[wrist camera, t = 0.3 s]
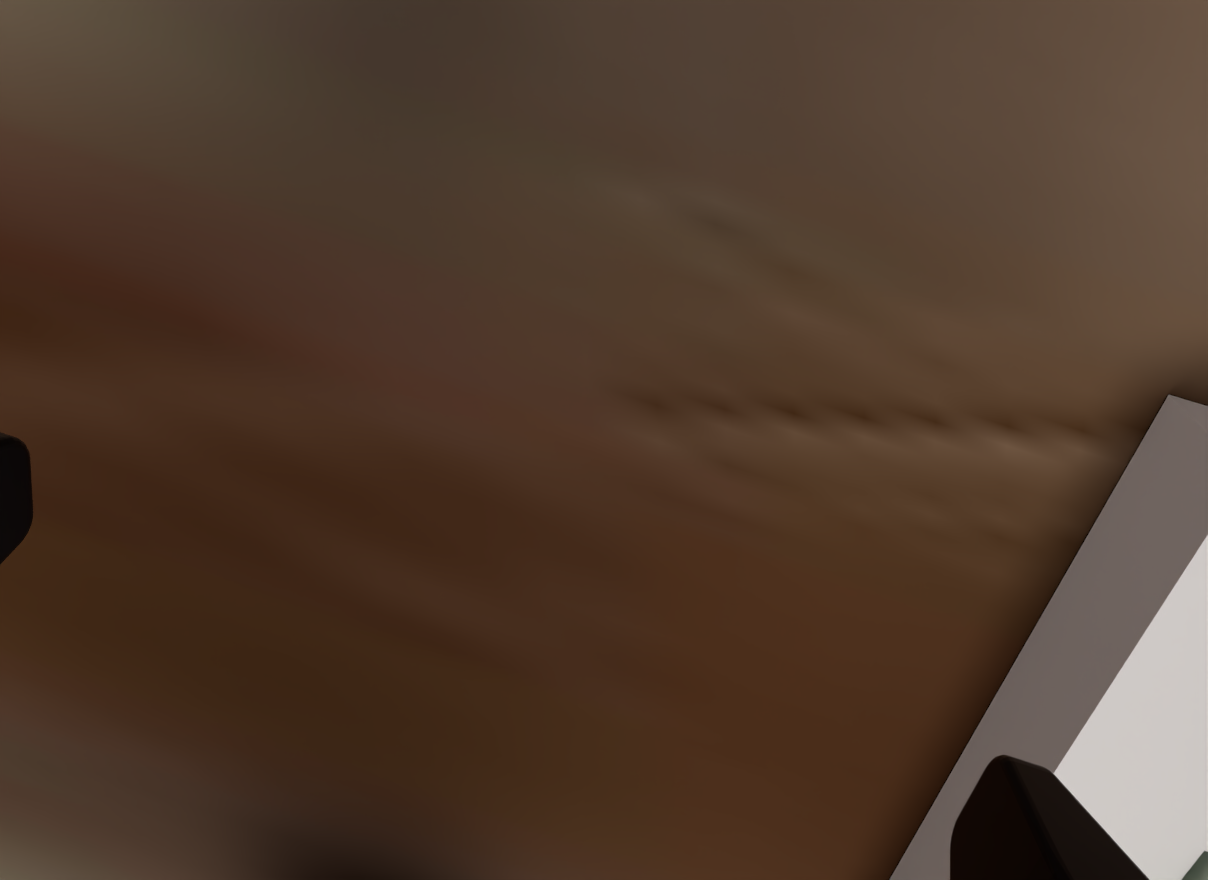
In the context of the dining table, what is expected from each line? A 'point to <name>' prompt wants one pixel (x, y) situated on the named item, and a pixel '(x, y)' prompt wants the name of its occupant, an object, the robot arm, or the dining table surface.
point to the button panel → (1115, 670)
